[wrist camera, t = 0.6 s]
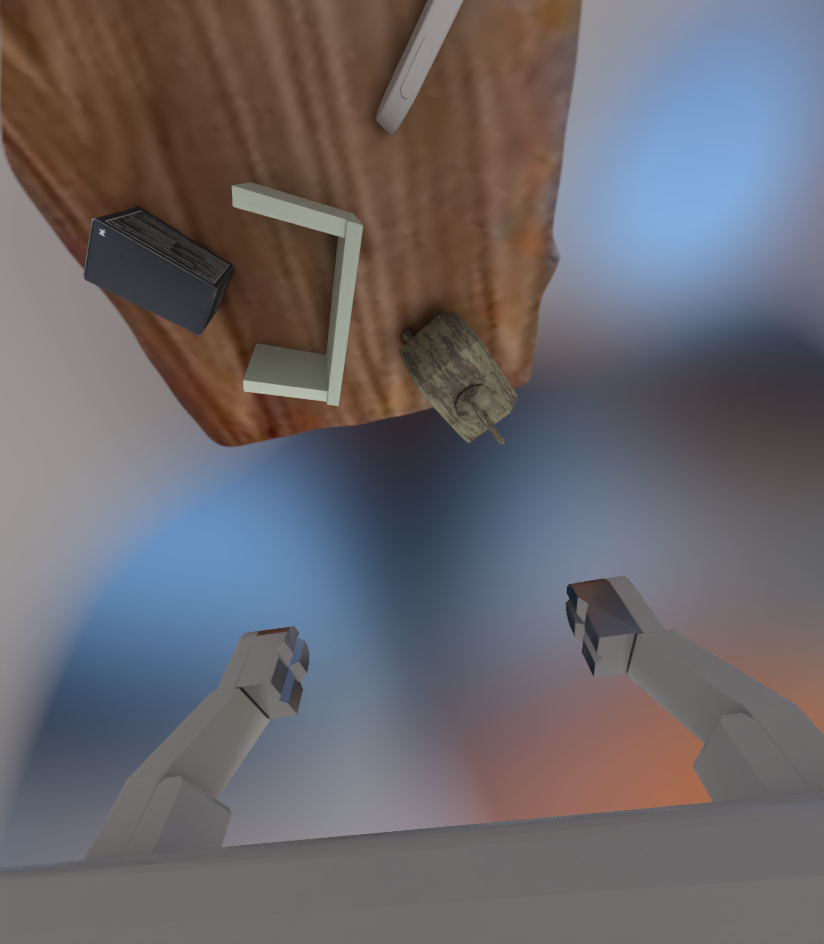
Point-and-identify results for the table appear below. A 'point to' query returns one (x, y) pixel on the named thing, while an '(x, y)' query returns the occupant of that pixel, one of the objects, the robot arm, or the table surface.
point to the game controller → (416, 61)
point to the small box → (156, 268)
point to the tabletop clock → (458, 376)
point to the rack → (322, 372)
